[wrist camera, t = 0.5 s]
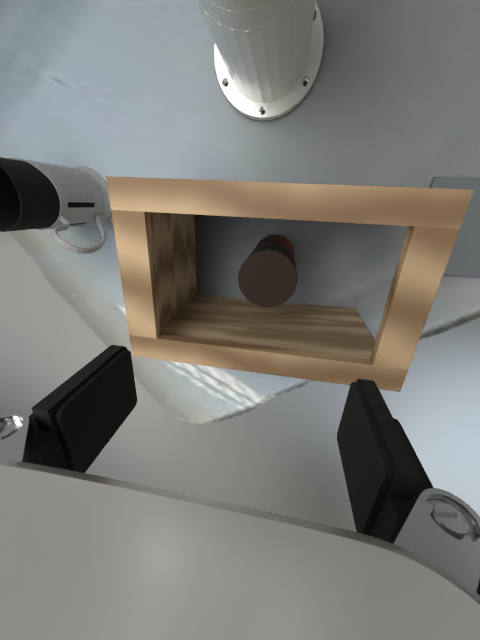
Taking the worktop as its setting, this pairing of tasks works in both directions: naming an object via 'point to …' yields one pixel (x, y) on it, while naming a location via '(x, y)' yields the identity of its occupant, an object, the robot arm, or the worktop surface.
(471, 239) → the mat
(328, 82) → the worktop surface
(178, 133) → the worktop surface
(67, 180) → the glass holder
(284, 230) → the worktop surface
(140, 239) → the cover
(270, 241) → the deodorant
